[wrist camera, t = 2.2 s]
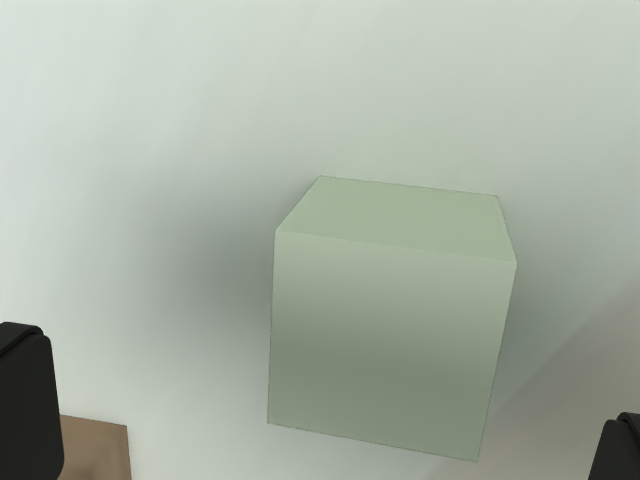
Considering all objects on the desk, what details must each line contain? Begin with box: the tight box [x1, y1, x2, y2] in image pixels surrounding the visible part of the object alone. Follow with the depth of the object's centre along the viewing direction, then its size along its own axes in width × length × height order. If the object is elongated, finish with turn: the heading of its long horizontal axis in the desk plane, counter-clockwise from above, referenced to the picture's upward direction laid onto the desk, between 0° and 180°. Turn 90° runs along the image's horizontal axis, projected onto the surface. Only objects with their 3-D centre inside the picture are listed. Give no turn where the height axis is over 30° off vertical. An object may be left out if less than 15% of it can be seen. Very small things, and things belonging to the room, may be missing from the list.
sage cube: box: [267, 176, 518, 462], centre depth 15 cm, size 5×5×5 cm
